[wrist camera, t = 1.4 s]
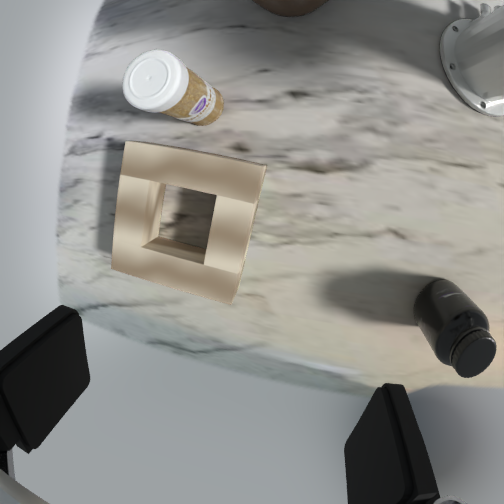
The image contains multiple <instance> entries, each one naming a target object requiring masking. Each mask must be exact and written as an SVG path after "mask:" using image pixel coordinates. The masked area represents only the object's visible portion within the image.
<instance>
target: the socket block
mask: <svg viewBox="0 0 504 504" xmlns="http://www.w3.org/2000/svg"><path fill="white" fill-rule="evenodd" d="M266 168H267V165H263V164H259V163H255V162H250V161H246V160H241V159H236V158H232V157H227V156H222V155H217V154H212V153H207V152H202V151H197V150H191V149H186V148H180V147H174V146H168V145H162V144H156V143H149V142H138V141H126V142H125V148H124V154H123V160H122V166H121V173H120V180H119V187H118V195H117V204H116V213H115V223H114V235H113V248H112V265H111V269H114V270H117V271H120V272H123V273H126V274H129V275H132V276H135V277H138V278H141V279H145V280H148V281H151V282H154V283H157V284H161V285H164V286H167V287H170V288H174V289H177V290H180V291H184V292H187V293H191V294H194V295H197V296H201V297H204V298H208V299H211V300H215V301H219V302H222V303H226V304H229V305H231V304H232V302H233V299H234V297H235V295H236V292H237V290H238V288H239V284H240V280H241V275H242V271H243V267H244V262H245V258H246V254H247V249H248V245H249V241H250V236H251V232H252V228H253V224H254V219H255V215H256V211H257V206H258V202H259V198H260V194H261V189H262V185H263V181H264V176H265V172H266ZM166 184H169V185H174V186H178V187H183V188H187V189H192V190H196V191H201V192H205V193H210V194H214V195H217V198H216V203H215V208H214V213H213V218H212V223H211V228H210V233H209V239H208V244H207V249H204V248H200V247H196V246H192V245H188V244H185V243H181V242H177V241H173V240H170V239H166V238H162V237H158V233H159V226H160V219H161V212H162V206H163V199H164V193H165V187H166Z"/></svg>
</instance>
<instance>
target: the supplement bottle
mask: <svg viewBox="0 0 504 504" xmlns="http://www.w3.org/2000/svg"><path fill="white" fill-rule="evenodd" d="M414 316H415V319H416V322H417V323H418V325H419V327H420V329H421V330H422V332H423V334H424V336H425V337H426V339H427V341H428V342H429V344H430V346H431V348H432V350H433V351H434V353H435V355H436V356H437V358H438V359H439V360H440V361H441V362H442V363H443V364H445V365H449V366H453V368H454V369H455V370H456V372H457V373H458V375H460V376H461V377H464V378H466V377H467V378H469V377H473V376H476V375H478V374H480V373H481V372H483V371H484V370H485V369H486V368H487V367H488V366H489V365H490V363H491V362H492V360H493V358H494V356H495V354H496V342H495V341H494V339H493V338H492V336H491V335H490V333H489V322H488V319H487V317H486V315H485V314H484V313H483V312H482V310H481V309H480V308H479V307H478V306H477V305H476V304H475V303H474V302H473V301H472V300H471V299H470V298H469V297H468V296H467V295H466V294H465V293H464V292H463V291H462V290H461V289H460V288H459V287H458V286H457V285H455V284H454V283H453V282H451V281H448V280H438V281H435V282H432V283H430V284H429V285H427V286H426V287H425V288H424V289H423V290H422V291H421V292H420V294H419V295H418V297H417V299H416V302H415V305H414Z"/></svg>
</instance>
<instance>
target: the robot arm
mask: <svg viewBox="0 0 504 504" xmlns="http://www.w3.org/2000/svg"><path fill="white" fill-rule="evenodd" d="M480 9H481V16H479V17H478V18H477V19H475V20H471V19H460V20H456V21H455V22H453V23H451V24H450V25H449V26H448V27H446V29H445V30H444V32H443V34H442V37H441V40H440V55H441V60H442V64H443V67H444V70H445V72H446V75H447V77H448V79H449V81H450V82H451V84H452V86H453V87H454V89H455V90H456V91H457V93H458V94H459V95H460V96H461V98H462V99H463V100H464V101H465V102H466V103H467V104H469V105H470V106H471V107H472V108H473V109H475V110H477V111H478V112H480V113H482V114H485V115H487V116H493V117H497V116H504V5H503V6H495V7H494V11H493V12H492V13H491V8H490V6H489V5H487V4H484V3H482V4H481V5H480ZM89 382H90V374H89V368H88V362H87V356H86V349H85V342H84V334H83V326H82V319H81V317H80V316H79V313H78V312H77V311H76V310H75V309H72V308H69V307H67V306H64V305H60V306H58V307H57V308H56V309H55V310H53V311H52V312H50V313H49V314H48V315H46V316H45V317H43V318H42V319H41V320H39V321H38V322H37V323H36V324H34V325H33V326H31V327H30V328H29V329H27V330H26V331H25V332H24V333H22V334H21V335H20V336H18V337H17V338H16V339H14V340H13V341H12V342H11V343H9V344H8V345H7V346H6V347H4V348H3V349H2V350H0V504H49V503H48V502H46V501H44V500H43V499H41V498H40V497H38V496H37V495H35V494H34V493H32V492H31V491H29V490H28V489H26V488H25V487H23V486H22V485H21V484H19V483H18V482H17V481H15V474H14V465H13V453H12V448H13V446H14V445H15V444H16V445H17V446H18V447H19V448H21V449H22V450H24V451H25V452H27V453H28V454H29V453H30V452H31V450H32V449H36V448H38V447H39V446H40V445H41V443H42V442H43V441H44V439H45V438H46V437H47V436H48V434H49V433H50V432H51V431H52V429H53V428H54V427H55V426H56V424H57V423H58V422H59V421H60V419H61V418H62V417H63V416H64V415H65V413H66V412H67V411H68V409H69V408H70V407H71V406H72V405H73V404H74V402H75V401H76V400H77V399H78V397H79V396H80V395H81V394H82V393H83V391H84V390H85V389H86V388H87V387H88V385H89ZM344 454H345V467H346V480H347V495H348V504H467V503H466V502H465V501H463V500H462V499H461V498H459V497H456V496H444V497H441V498H440V495H439V491H438V488H437V484H436V480H435V477H434V473H433V470H432V466H431V463H430V460H429V456H428V453H427V450H426V447H425V444H424V441H423V438H422V435H421V432H420V430H419V427H418V424H417V421H416V418H415V415H414V413H413V410H412V407H411V404H410V401H409V398H408V396H407V393H406V390H405V388H404V386H403V385H401V384H390V383H385V384H384V385H383V386H382V387H378V388H377V389H376V390H375V392H374V394H373V396H372V398H371V400H370V402H369V403H368V405H367V407H366V409H365V411H364V412H363V414H362V416H361V418H360V420H359V421H358V423H357V425H356V426H355V428H354V430H353V431H352V433H351V435H350V436H349V438H348V439H347V441H346V444H345V448H344Z"/></svg>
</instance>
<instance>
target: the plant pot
mask: <svg viewBox="0 0 504 504" xmlns="http://www.w3.org/2000/svg"><path fill="white" fill-rule="evenodd" d="M252 1H254V2H255V3H257V4H258V5H260V6H261V7H263V8H265V9H266V10H268V11H270V12H272V13H274V14H277V15H281V16H287V17H295V16H302V15H305V14H308V13H310V12H312V11H314V10H315V9H317V8H319V7H320V6H321V5H323V4H324V3H326V2H327V1H328V0H252Z"/></svg>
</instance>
